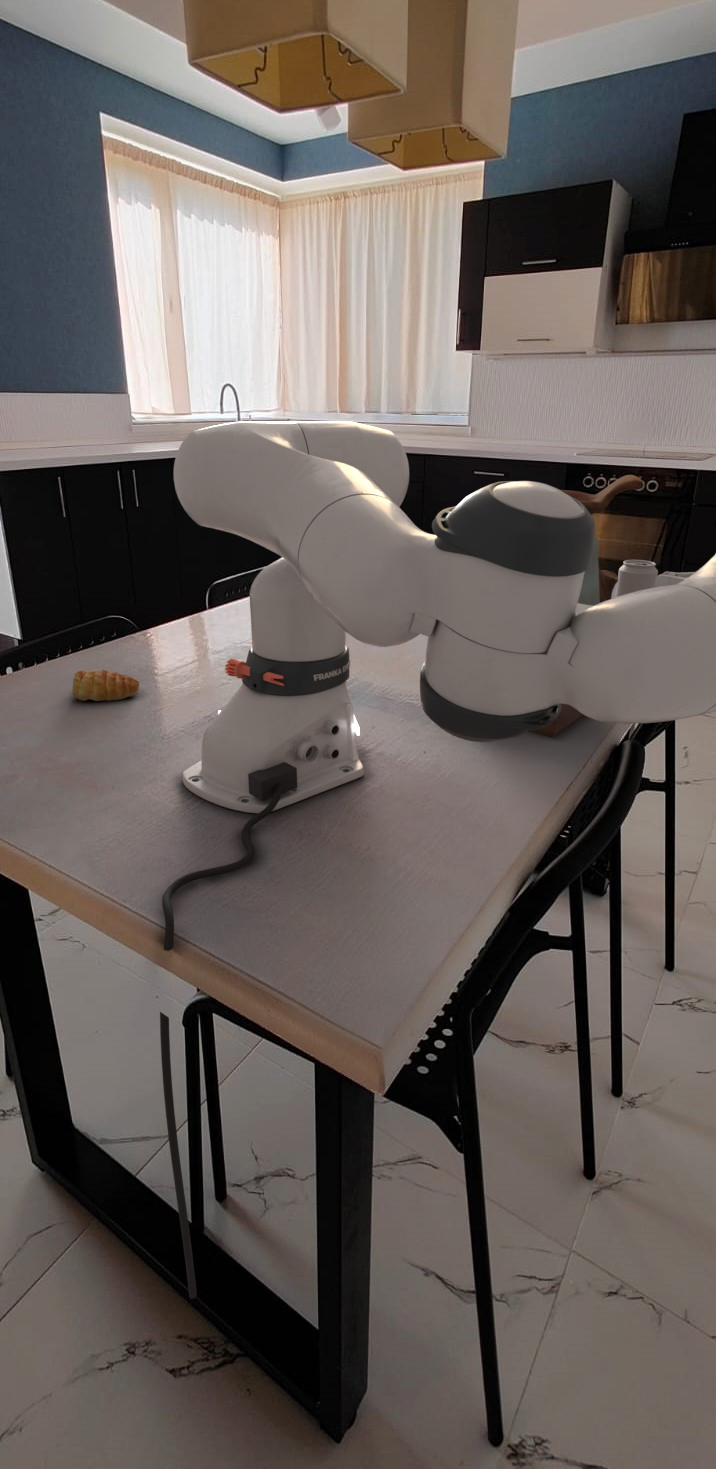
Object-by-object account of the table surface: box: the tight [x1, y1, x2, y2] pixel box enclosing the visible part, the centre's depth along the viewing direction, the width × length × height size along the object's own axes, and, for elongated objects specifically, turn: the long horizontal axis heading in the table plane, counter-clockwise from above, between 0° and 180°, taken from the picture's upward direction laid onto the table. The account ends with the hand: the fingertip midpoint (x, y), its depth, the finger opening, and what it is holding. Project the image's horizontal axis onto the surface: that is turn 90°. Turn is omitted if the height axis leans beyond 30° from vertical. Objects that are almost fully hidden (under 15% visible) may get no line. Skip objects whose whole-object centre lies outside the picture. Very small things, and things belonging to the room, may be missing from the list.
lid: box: [578, 536, 600, 606], centre depth 102 cm, size 16×13×1 cm
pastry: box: [71, 669, 140, 702], centre depth 115 cm, size 9×7×4 cm
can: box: [614, 559, 659, 598], centre depth 157 cm, size 8×8×12 cm
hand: (658, 580), depth 94 cm, fingers closed
